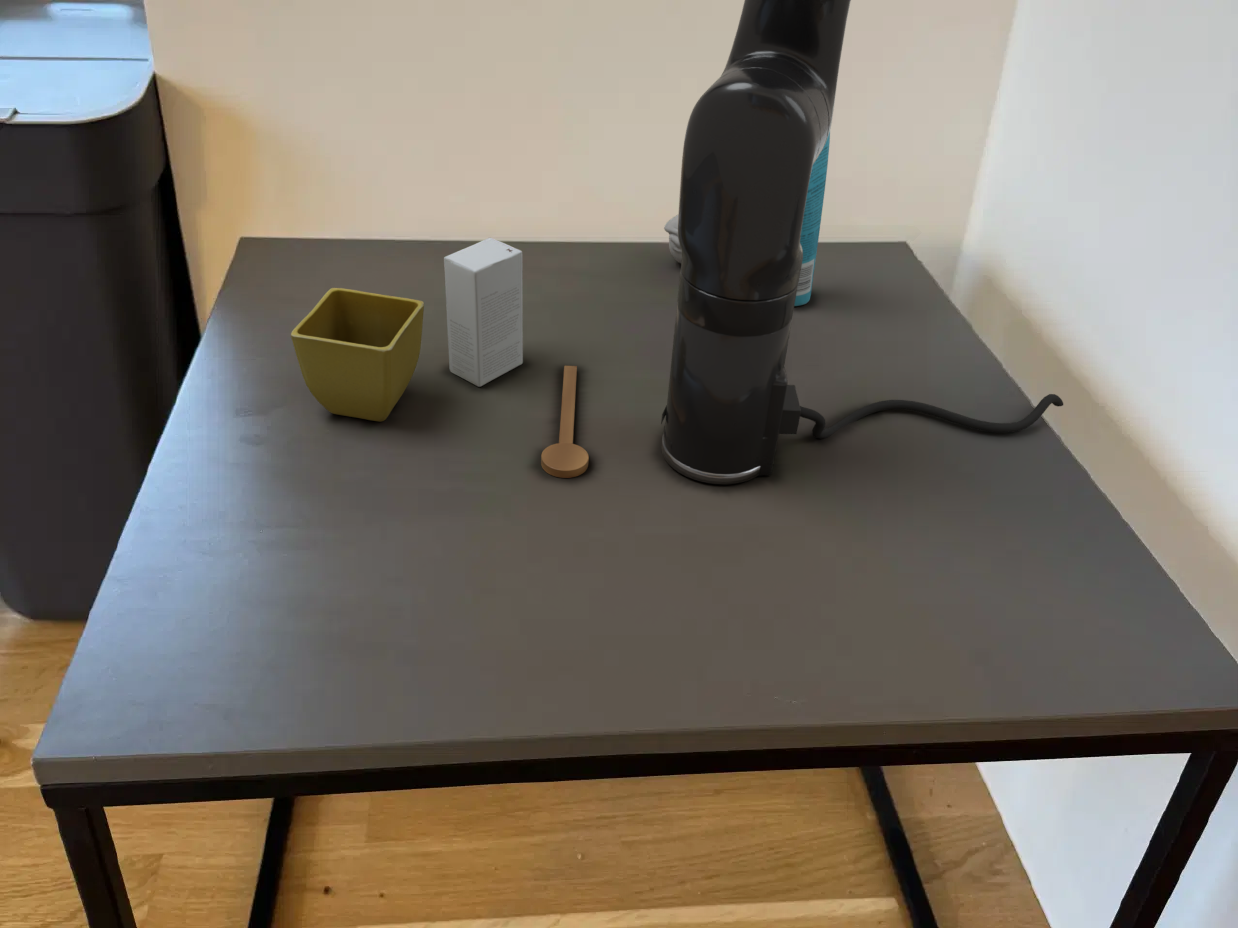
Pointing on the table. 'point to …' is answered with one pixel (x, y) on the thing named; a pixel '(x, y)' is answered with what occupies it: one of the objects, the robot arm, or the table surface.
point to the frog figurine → (674, 238)
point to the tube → (812, 224)
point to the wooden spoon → (566, 436)
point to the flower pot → (359, 351)
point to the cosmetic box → (484, 310)
